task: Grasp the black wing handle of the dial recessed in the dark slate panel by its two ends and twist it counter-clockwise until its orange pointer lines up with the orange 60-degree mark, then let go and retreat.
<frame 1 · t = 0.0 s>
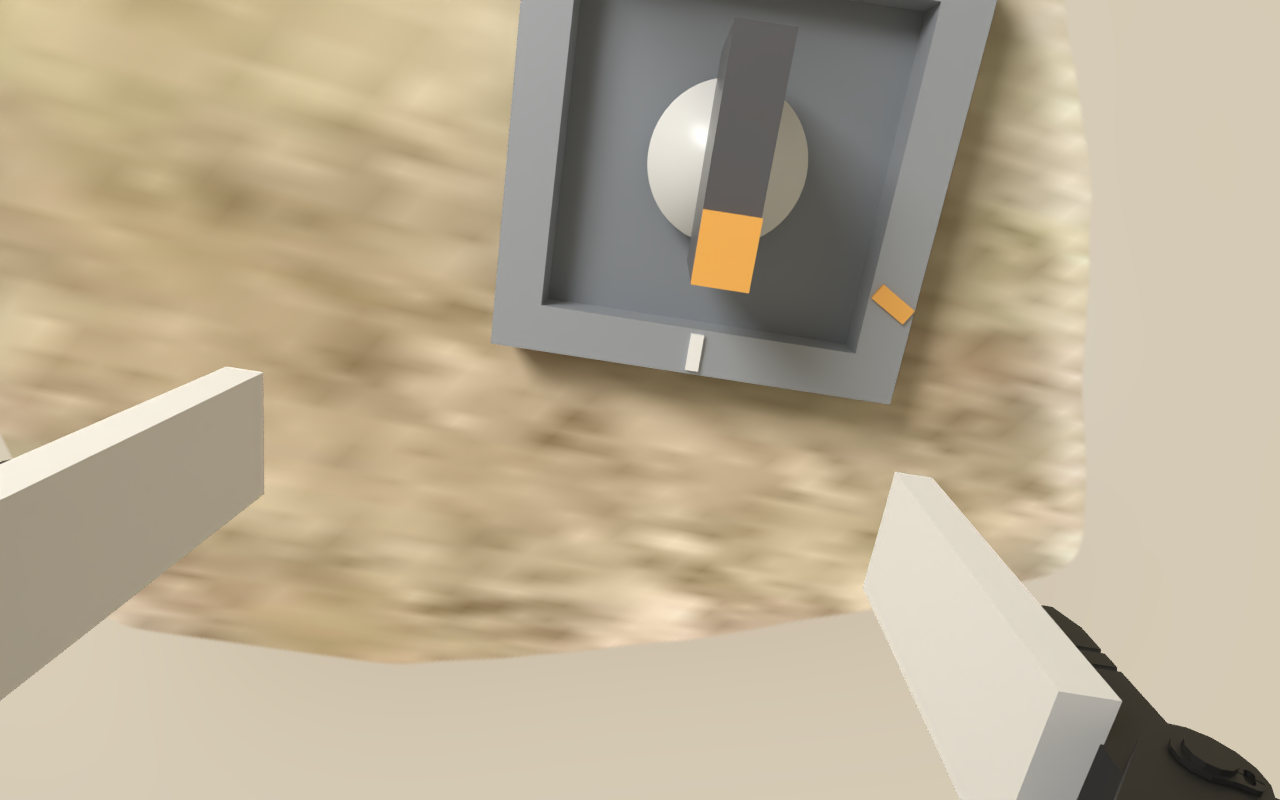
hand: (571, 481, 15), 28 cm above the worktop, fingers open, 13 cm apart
dial panel: (722, 164, 40), on the worktop
dial: (732, 163, 33), point 7 cm above the worktop, hinge at 0.0°
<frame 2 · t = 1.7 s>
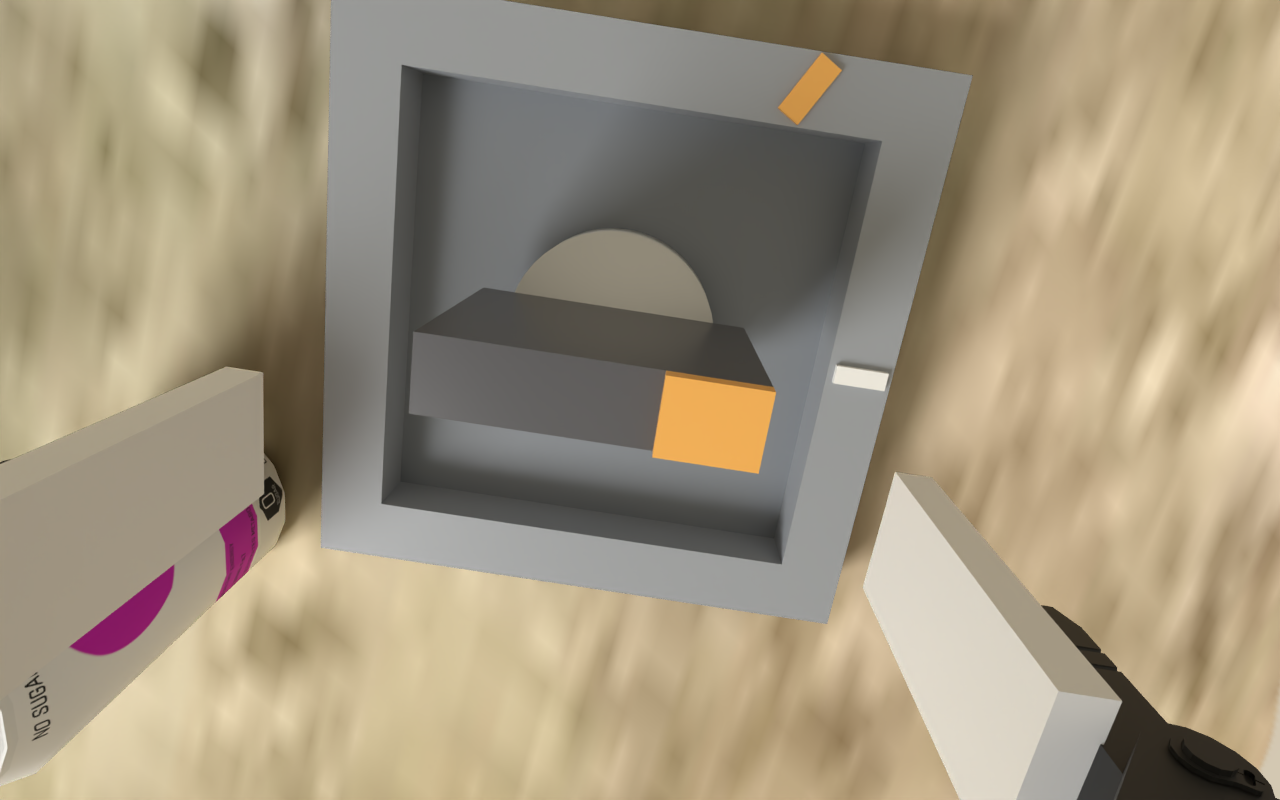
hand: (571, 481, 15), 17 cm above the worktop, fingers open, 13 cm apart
dial panel: (615, 320, 31), on the worktop
supplement can: (210, 487, 35), on the worktop
dial: (602, 359, 25), point 7 cm above the worktop, hinge at 0.0°
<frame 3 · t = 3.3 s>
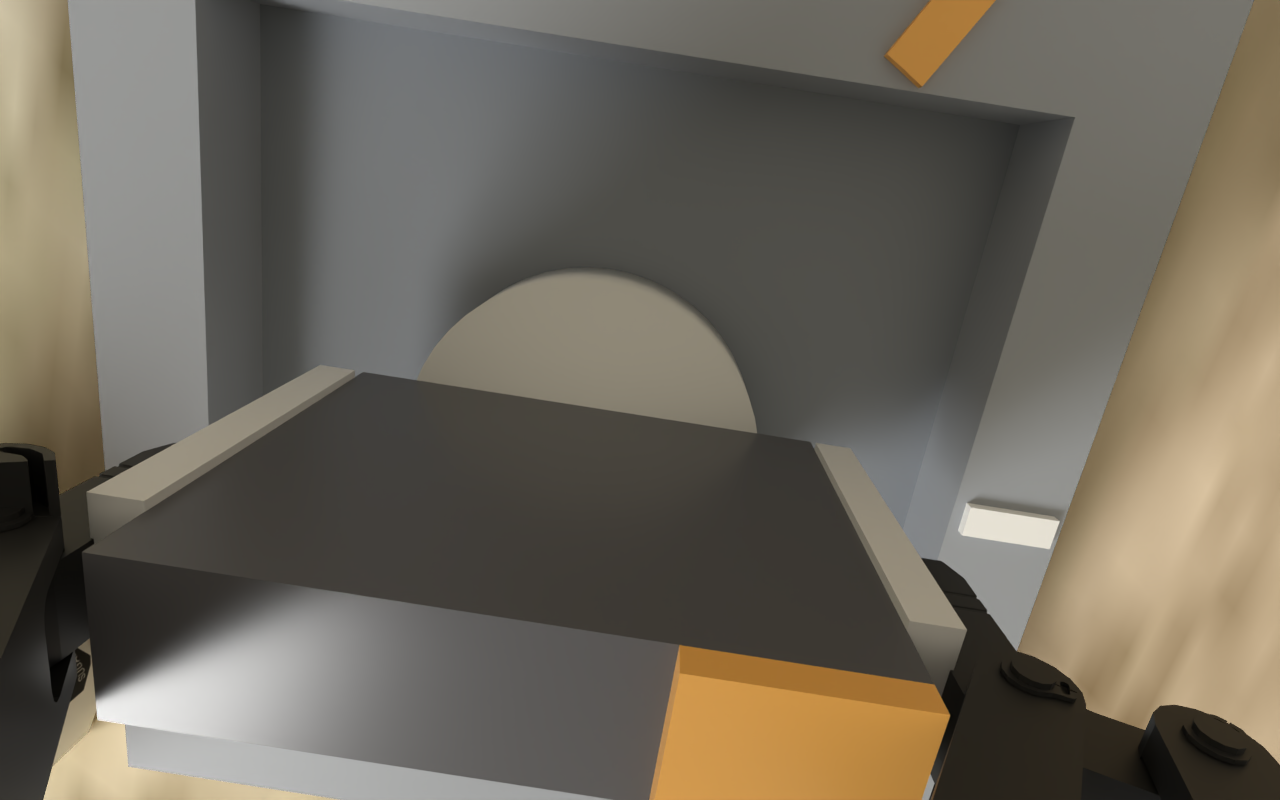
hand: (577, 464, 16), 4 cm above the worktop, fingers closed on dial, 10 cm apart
dial panel: (595, 408, 20), on the worktop
dial: (558, 522, 13), point 7 cm above the worktop, hinge at 0.0°, touching gripper
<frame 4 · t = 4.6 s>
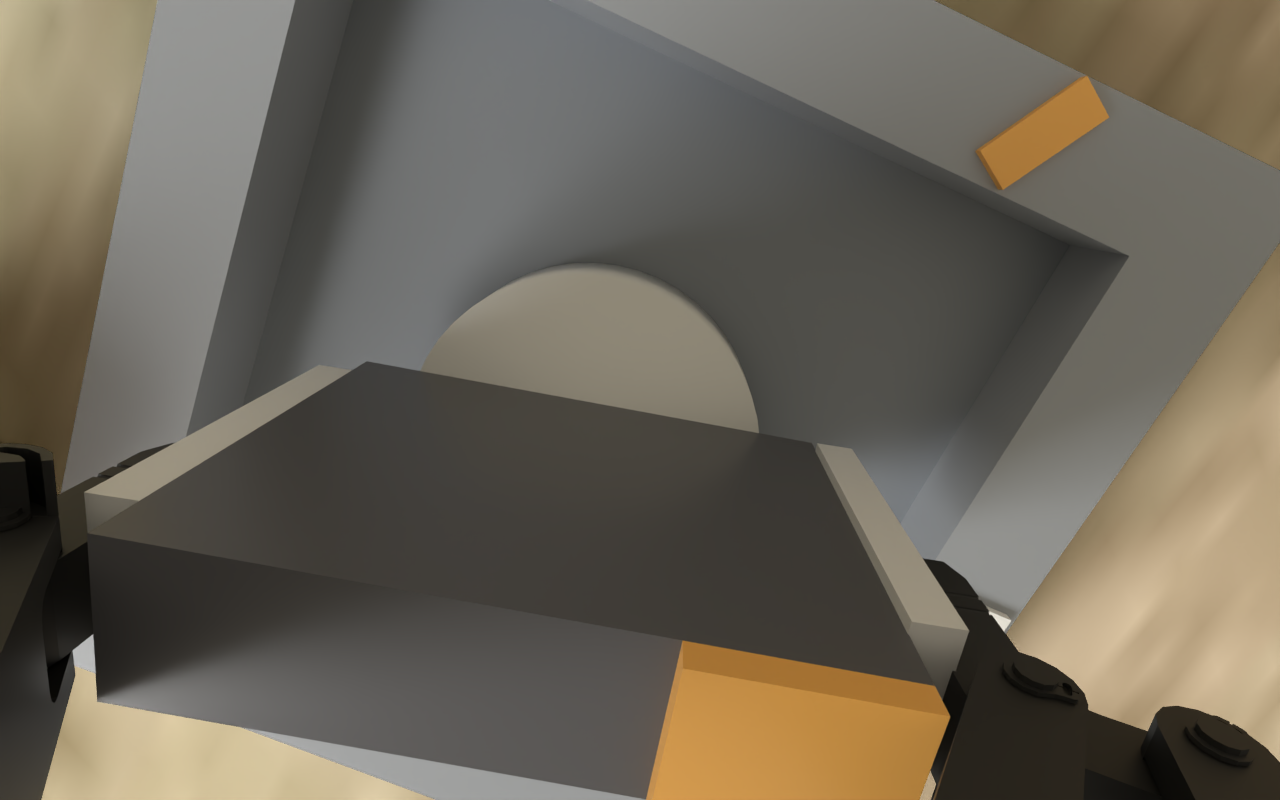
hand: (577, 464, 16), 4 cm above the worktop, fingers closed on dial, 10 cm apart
dial panel: (597, 404, 20), on the worktop
dial: (560, 516, 13), point 7 cm above the worktop, hinge at 13.3°, touching gripper
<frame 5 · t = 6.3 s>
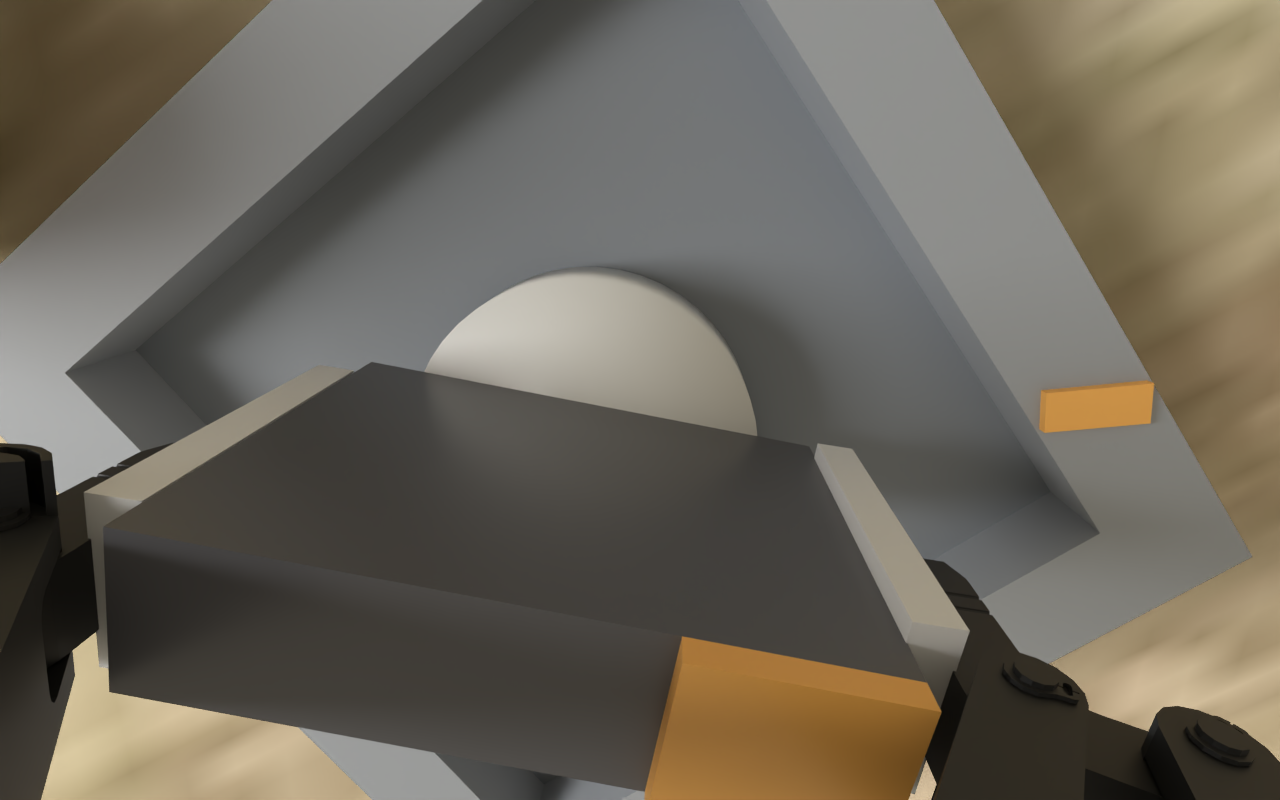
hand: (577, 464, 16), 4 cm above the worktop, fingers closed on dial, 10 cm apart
dial panel: (597, 406, 20), on the worktop
dial: (561, 516, 14), point 7 cm above the worktop, hinge at 42.8°, touching gripper
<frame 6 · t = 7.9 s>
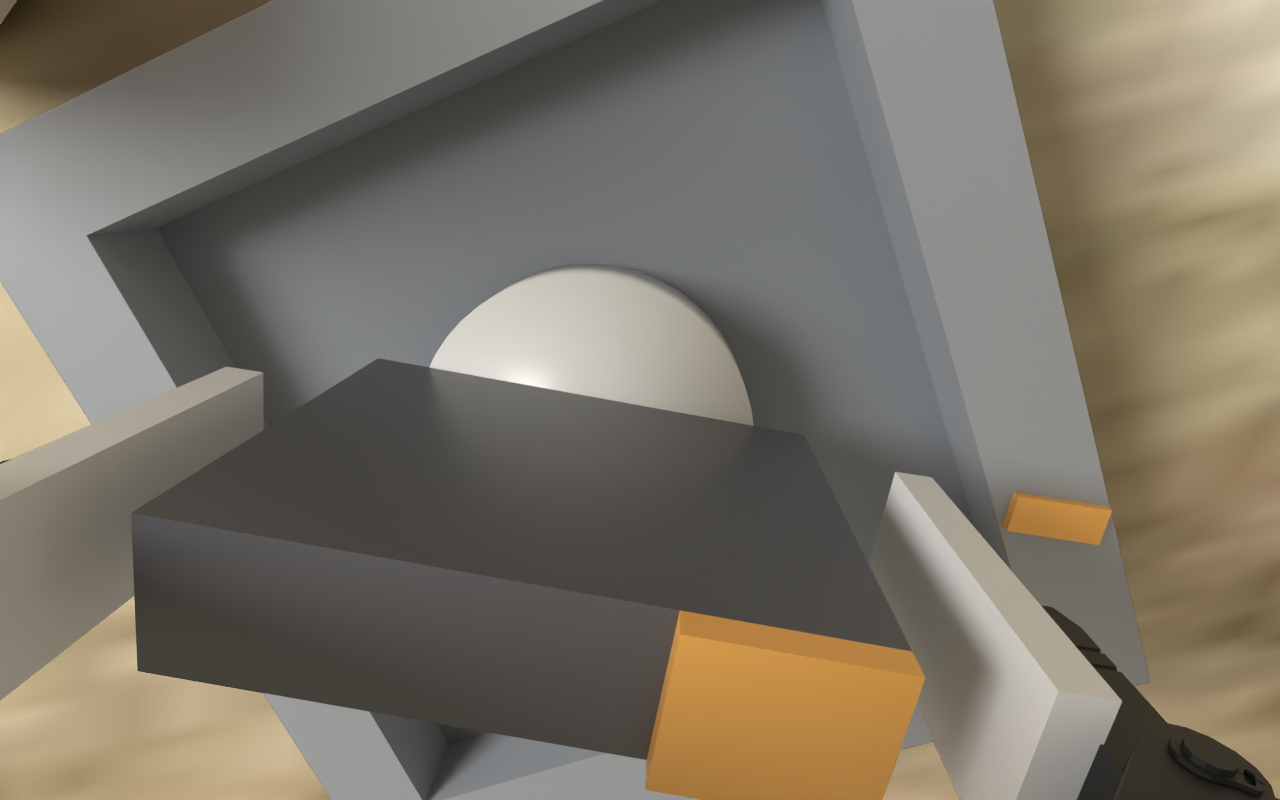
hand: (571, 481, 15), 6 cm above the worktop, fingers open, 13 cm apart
dial panel: (598, 400, 20), on the worktop
dial: (564, 504, 14), point 7 cm above the worktop, hinge at 58.5°
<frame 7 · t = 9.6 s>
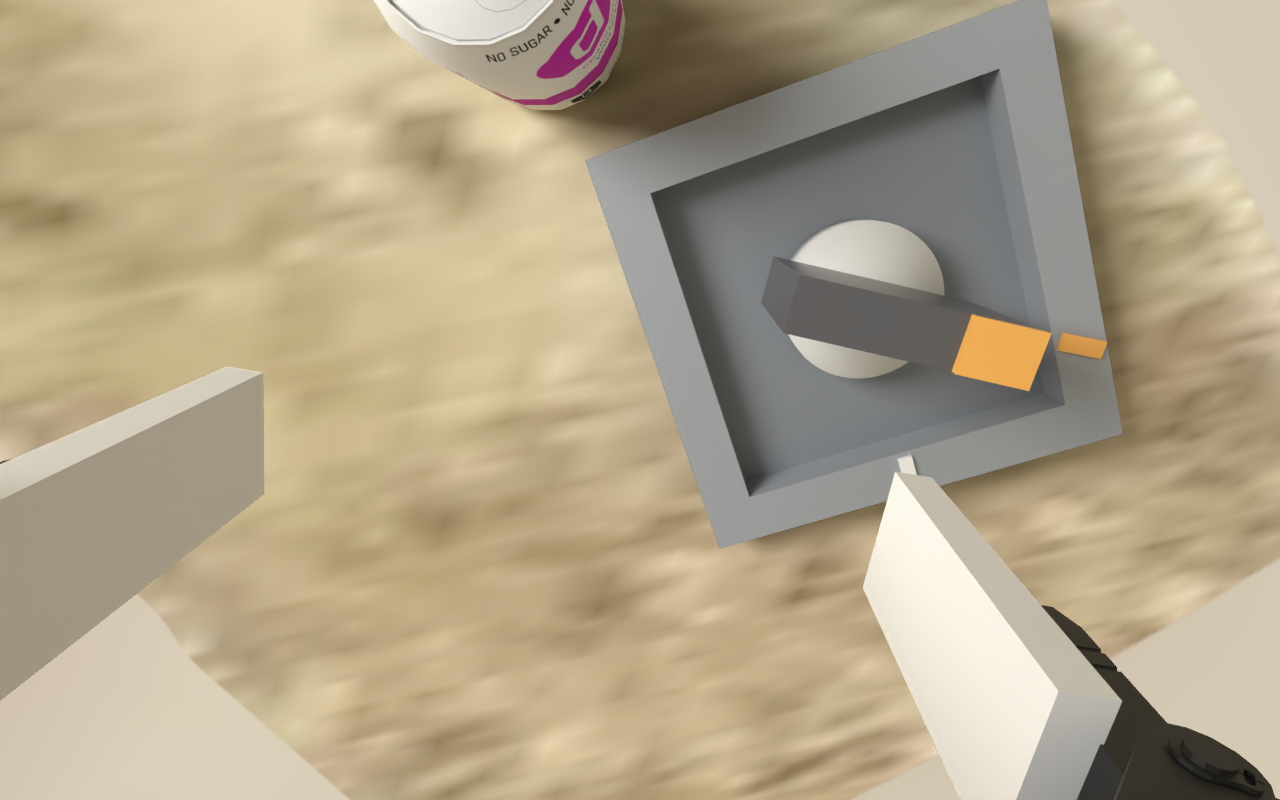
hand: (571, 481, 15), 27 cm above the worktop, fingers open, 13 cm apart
dial panel: (847, 292, 40), on the worktop
supplement can: (546, 27, 37), on the worktop
dial: (880, 312, 34), point 7 cm above the worktop, hinge at 58.6°
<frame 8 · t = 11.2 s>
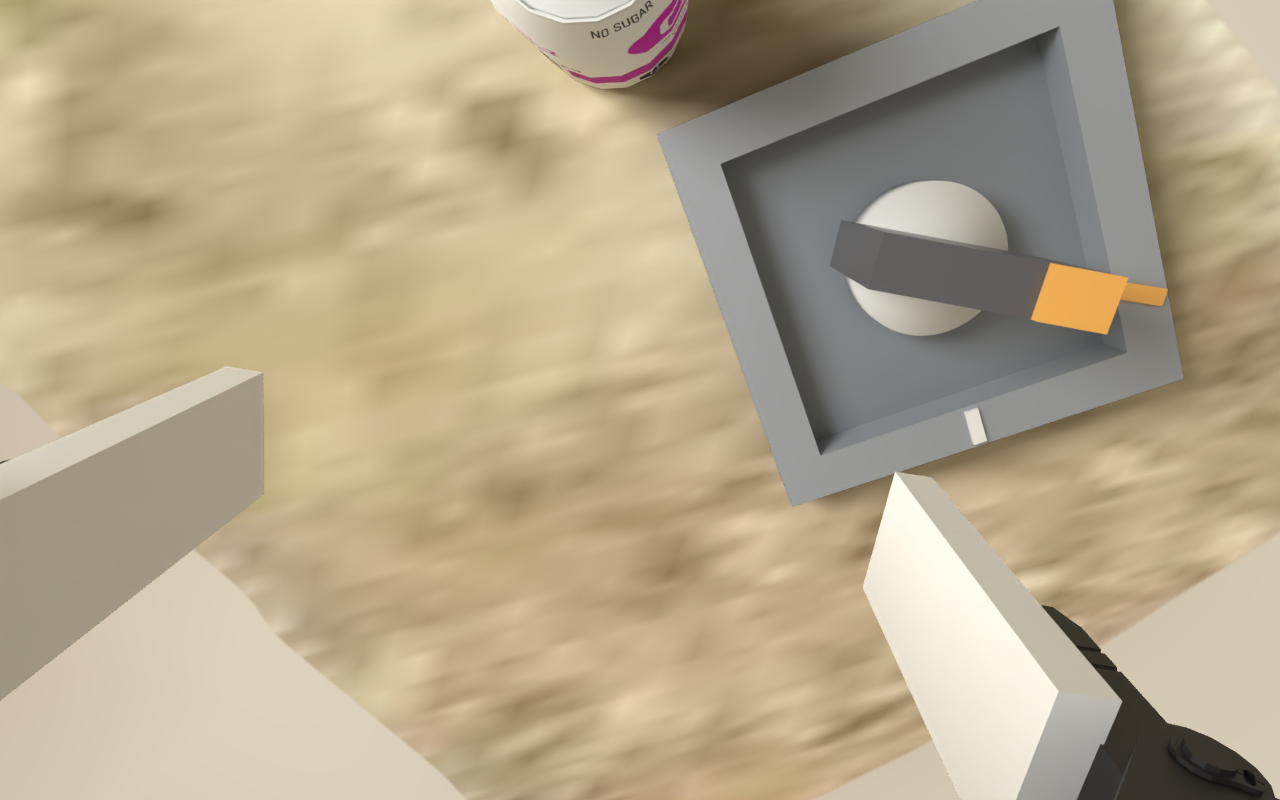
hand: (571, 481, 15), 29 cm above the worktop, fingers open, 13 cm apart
dial panel: (908, 253, 41), on the worktop
supplement can: (610, 7, 38), on the worktop
dial: (951, 268, 35), point 7 cm above the worktop, hinge at 58.6°
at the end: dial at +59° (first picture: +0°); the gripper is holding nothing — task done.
